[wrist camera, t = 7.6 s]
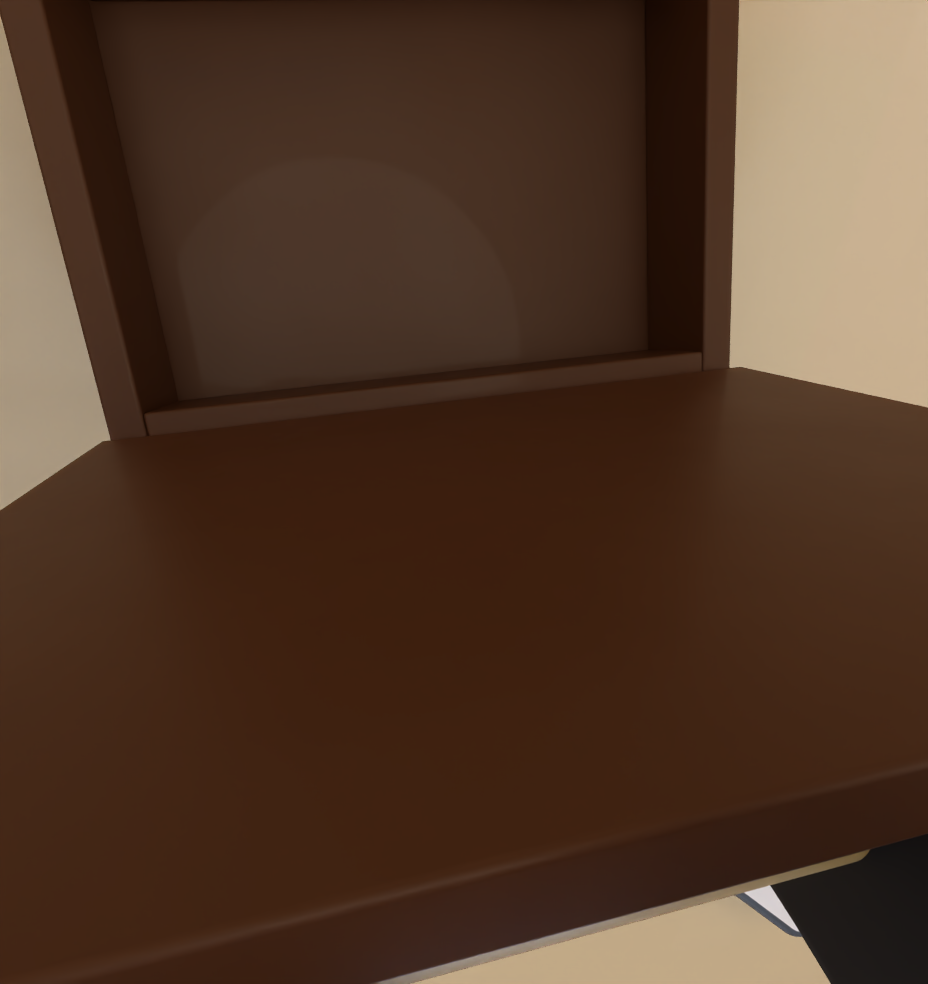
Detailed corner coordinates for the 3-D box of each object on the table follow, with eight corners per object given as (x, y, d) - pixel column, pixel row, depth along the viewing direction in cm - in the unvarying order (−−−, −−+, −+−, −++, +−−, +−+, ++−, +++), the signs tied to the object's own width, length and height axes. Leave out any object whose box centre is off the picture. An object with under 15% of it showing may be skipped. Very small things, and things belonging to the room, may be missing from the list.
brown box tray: (58, -19, 12) (-44, -146, 9) (656, -20, 14) (743, -123, 11) (163, 428, 15) (112, 452, 11) (658, 372, 17) (730, 378, 14)
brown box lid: (-1149, 1276, 2) (-396, 1593, 3) (1697, 570, 4) (1407, 944, 5) (101, 441, 11) (154, 613, 12) (741, 366, 13) (726, 520, 14)
